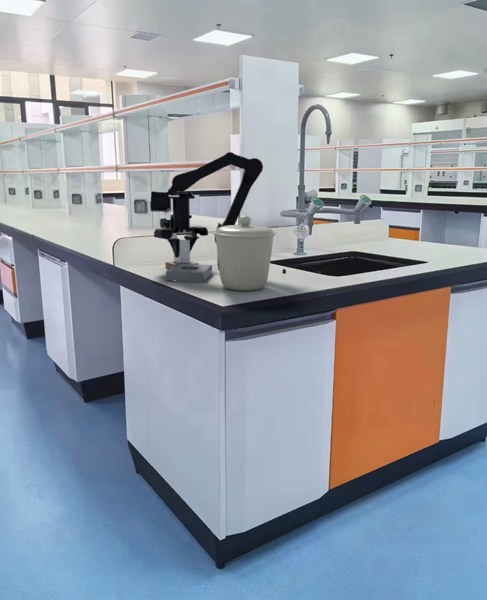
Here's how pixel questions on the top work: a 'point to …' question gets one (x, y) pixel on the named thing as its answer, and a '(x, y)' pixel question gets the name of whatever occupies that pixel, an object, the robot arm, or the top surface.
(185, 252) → the steel key peg
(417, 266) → the top surface
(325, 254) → the top surface
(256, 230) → the canister
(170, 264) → the walnut stand collar
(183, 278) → the grey flat block
